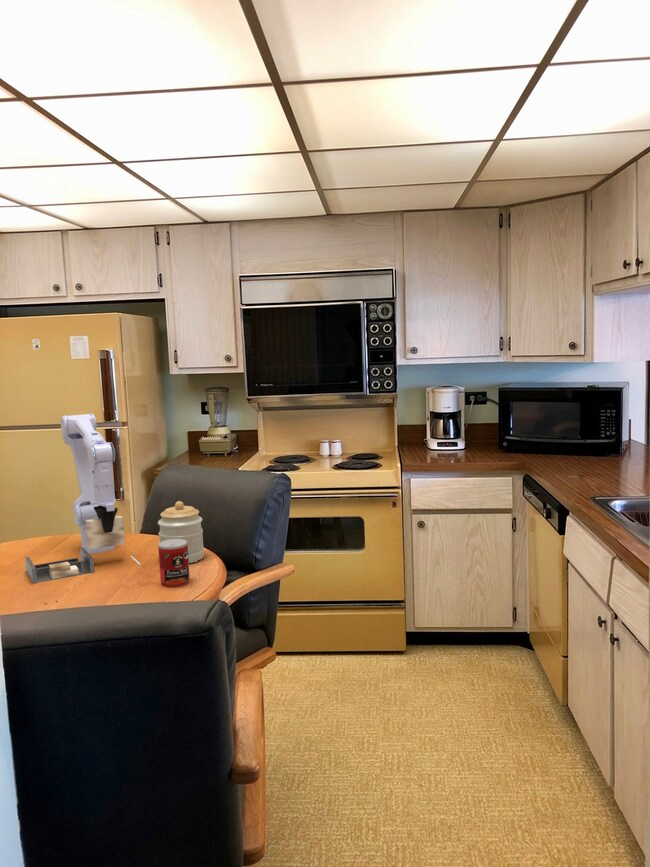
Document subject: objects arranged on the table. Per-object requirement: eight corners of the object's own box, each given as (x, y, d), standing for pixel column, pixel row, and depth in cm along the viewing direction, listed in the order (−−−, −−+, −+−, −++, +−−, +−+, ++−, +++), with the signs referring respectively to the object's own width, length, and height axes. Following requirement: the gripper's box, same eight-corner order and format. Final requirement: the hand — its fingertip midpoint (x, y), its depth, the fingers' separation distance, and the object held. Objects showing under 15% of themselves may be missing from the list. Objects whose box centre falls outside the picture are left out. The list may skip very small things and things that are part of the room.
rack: (84, 564, 204) (83, 547, 203) (94, 575, 193) (93, 558, 192) (26, 574, 196) (25, 557, 195) (33, 587, 185) (31, 569, 184)
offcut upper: (68, 566, 194) (67, 561, 193) (70, 569, 191) (70, 564, 190) (49, 570, 191) (48, 564, 191) (51, 573, 188) (51, 567, 188)
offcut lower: (75, 570, 195) (75, 565, 195) (78, 574, 192) (78, 568, 191) (49, 575, 191) (49, 569, 191) (52, 578, 188) (51, 573, 188)
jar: (151, 563, 202) (147, 504, 200) (176, 551, 214) (173, 495, 212) (188, 567, 197) (185, 507, 195) (212, 554, 209) (209, 497, 207)
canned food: (164, 589, 180) (162, 548, 178) (157, 580, 187) (154, 541, 186) (193, 584, 183) (191, 543, 182) (185, 575, 190) (182, 537, 189)
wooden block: (122, 541, 204) (120, 515, 203) (124, 543, 202) (123, 517, 201) (87, 547, 199) (85, 520, 198) (89, 549, 197) (87, 522, 196)
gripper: (84, 482, 203) (87, 527, 205) (94, 490, 190) (98, 538, 192) (108, 480, 206) (112, 524, 208) (120, 487, 194) (123, 534, 196)
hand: (107, 531), depth 200 cm, fingers closed on wooden block, 3 cm apart
